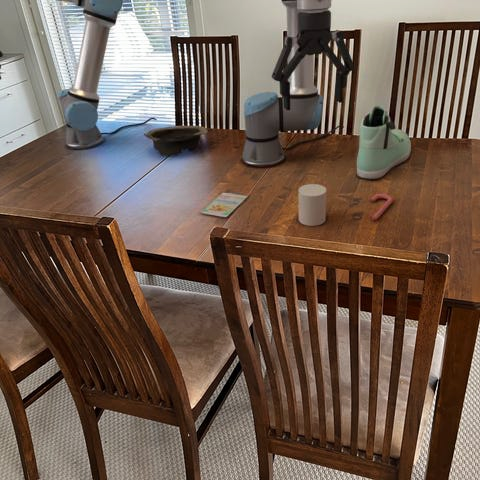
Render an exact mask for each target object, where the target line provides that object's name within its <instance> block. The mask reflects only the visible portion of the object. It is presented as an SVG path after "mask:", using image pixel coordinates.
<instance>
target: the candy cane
mask: <svg viewBox="0 0 480 480" xmlns="http://www.w3.org/2000/svg"><path fill="white" fill-rule="evenodd" d="M379 199H384V200H386V201H385V203H383V205H382V206H381V207H380V208H378V210H377V211H376V212H375V213H374V214H373V215H372V216H371V219H372V220H373V221H377V220H378V219H379V217H381V215H383V213H384V212H385V211H386V210H387V209H388V208H389V207H390V206H391V205H392V203H393V202H394V198H393V197H392V195H389V194H386V193H376V194H374V195H372V197H371V201H372V202H373V203H374V202H377V200H379Z"/></svg>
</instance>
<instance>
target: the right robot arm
mask: <svg viewBox="0 0 480 480" xmlns="http://www.w3.org/2000/svg"><path fill="white" fill-rule="evenodd" d="M281 3H282V4H283V6H284V7H285V8H286V35H285V36H284V38H283V46H282V49H281V52H280V54H279V56H278V59H277V61H276V64H275V67H274V69H273V71H272V73H271V79H272V80H274V81H275V82H278V83H279V94H280V96H279V95H278V93H277V92H274V91H266V92H259V93H256V94H253V95H251V96H248V98H246V99H245V100H244V103H243V115H244V127H245V143H244V146H243V147H244V148H243V150H242V156H241V159H242V160H241V161H242V163H243V164H244V165H245V166H248V167H251V168H262V169H263V168H271V167H275V166H278V165H280V164H282V163H283V162H284V160H285V151H287V150H290V149H292V148H294V147H296V146H298V145H300V144H304V143H308V142H309V143H310V142H312V141H316V140H320V139H322V138H325V137H326V136H328V135H330V134H331V133H333V132H334V131H336V130H337V129H339V128H342V129H344V128H345V126H344V125H342V124H339V125H337V126H336V127H334V128H333V129H331V130H329V131H328V132H327V133H325V134H323V135H320V136H316V137H313V138H310V139H305V140H301V141H298V142H295V143H293V144H292V145H290V146H288V147H282V143H281V141H280V138H279V136H280V135H279V133H280V132H281V133H282V132H297V131H298V132H300V131H304V132H306V131H311V130H316V129H318V128H319V126H320V123H321V121H322V114H323V107H324V106H323V102H324V98H323V96H322V94H320V93H319V89H318V88H317V87H316V85H315V83H314V81H315V76H314V75H315V74H314V73H315V55H322V54H324V55H325V56H326V57H327V58H328V60H330V62H331V63H332V64H333V65H334V67H335V68H336V69H337V71H338V73H337V72H336V73H335V95H334V100H335V101H336V102H337V103H339V104H341V103H343V101H344V99H343V98H344V89H346V88H347V81H348V76H349V75H350V72H354V71H355V70H356V66H355V64H354V61H353V59H352V57H351V54H350V51H349V50H348V47H347V45H346V41H345V33H344V31H342V30H339V29H336V30H334V31H333V32H331V28H332V12H331V10H329V9H331V7H332V0H281ZM332 40H333V42H335V45H336V47H337V49H338V52H339V54H340V56H341V57H340V58H341V59H342V61H343V62H342V61H341V59H339V57H338V56H337V55H336V54H335V52H334V51H333V49H332V48H331V47H330V42H331V41H332ZM343 63H344V64H343Z"/></svg>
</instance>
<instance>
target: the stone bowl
mask: <svg viewBox="0 0 480 480" xmlns="http://www.w3.org/2000/svg"><path fill="white" fill-rule="evenodd" d="M207 133H208V128H206V127H204V126H199V125H173V126H165V127H159V128H154V129H151V130H149V131H148V132H146V133H143V136H145V137H146V138H147V139H149V140H150V141H152V145H153V148H154V150H156V151H157V153H158V155H159V156H161V157H171V156H178V155H181V154H182V152H184V151H189V152H193V151H197V150H198V148H199V146H200V140H201V135H206V134H207Z"/></svg>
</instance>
